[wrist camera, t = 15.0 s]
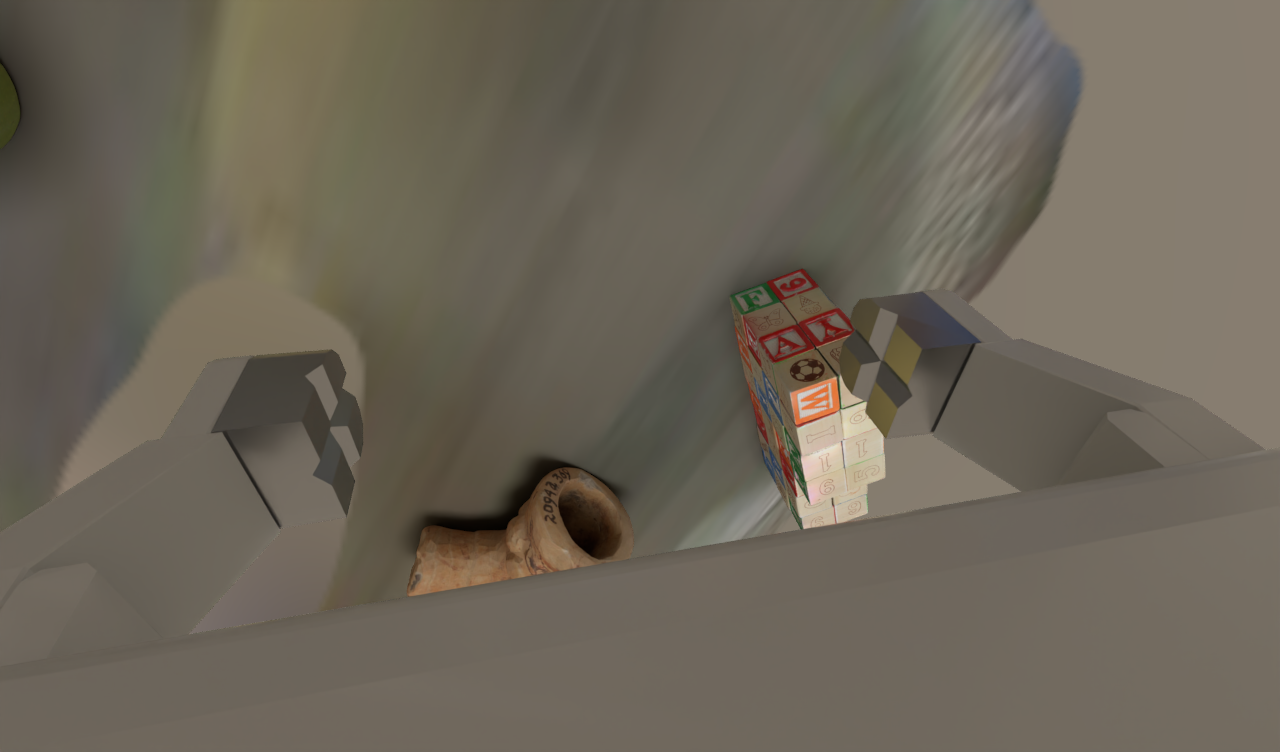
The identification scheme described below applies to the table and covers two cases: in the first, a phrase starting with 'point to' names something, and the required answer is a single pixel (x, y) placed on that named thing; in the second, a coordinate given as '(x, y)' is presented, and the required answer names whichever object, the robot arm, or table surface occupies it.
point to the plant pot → (7, 108)
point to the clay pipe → (529, 538)
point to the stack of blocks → (806, 400)
